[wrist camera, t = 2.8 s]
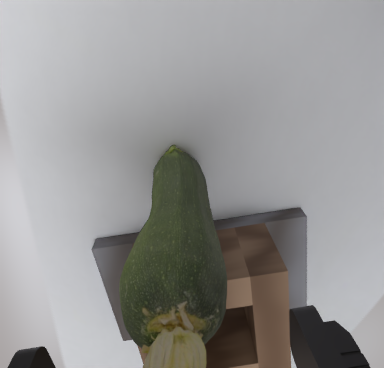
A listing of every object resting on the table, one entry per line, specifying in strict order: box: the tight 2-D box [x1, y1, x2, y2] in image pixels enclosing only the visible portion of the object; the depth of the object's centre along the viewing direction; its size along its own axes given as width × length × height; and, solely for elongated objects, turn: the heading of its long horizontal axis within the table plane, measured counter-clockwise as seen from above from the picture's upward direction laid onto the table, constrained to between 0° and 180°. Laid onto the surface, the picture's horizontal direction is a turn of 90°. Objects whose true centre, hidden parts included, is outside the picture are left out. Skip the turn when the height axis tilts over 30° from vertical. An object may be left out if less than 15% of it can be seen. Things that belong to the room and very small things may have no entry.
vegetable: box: [119, 145, 227, 368], centre depth 16 cm, size 4×4×20 cm
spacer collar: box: [92, 208, 307, 368], centre depth 26 cm, size 18×11×8 cm, turn 99°
